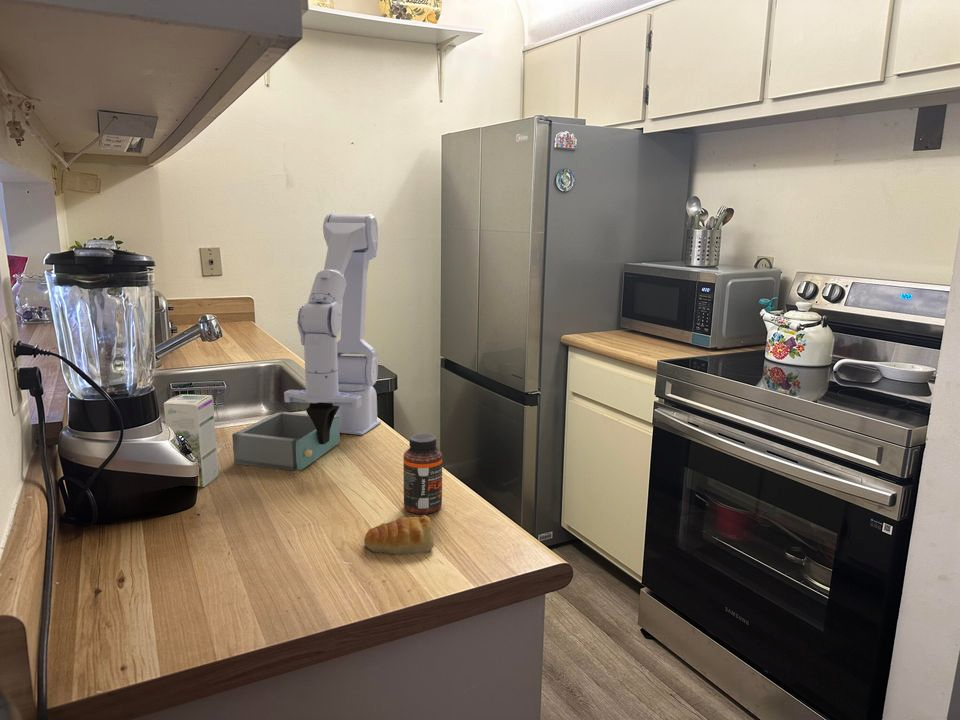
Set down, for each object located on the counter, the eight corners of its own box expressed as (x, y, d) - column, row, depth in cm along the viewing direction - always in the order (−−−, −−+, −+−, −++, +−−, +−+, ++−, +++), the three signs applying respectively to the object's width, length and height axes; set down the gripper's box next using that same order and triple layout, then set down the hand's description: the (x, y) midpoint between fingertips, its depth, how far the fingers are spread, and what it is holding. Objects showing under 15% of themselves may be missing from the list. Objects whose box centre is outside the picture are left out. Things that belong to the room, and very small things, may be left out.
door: (336, 441, 133) (336, 416, 132) (345, 442, 132) (344, 417, 131) (297, 469, 118) (296, 441, 117) (307, 470, 118) (305, 442, 117)
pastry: (366, 561, 89) (365, 534, 88) (362, 538, 95) (361, 512, 94) (436, 553, 91) (436, 527, 90) (428, 531, 97) (428, 506, 96)
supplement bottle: (433, 518, 101) (433, 446, 98) (397, 512, 103) (395, 441, 100) (448, 502, 106) (448, 433, 104) (413, 497, 108) (412, 429, 106)
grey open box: (280, 437, 136) (279, 411, 135) (334, 443, 133) (333, 416, 131) (234, 463, 122) (232, 434, 121) (293, 471, 119) (291, 441, 117)
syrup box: (220, 475, 116) (214, 393, 113) (203, 489, 111) (196, 403, 107) (188, 473, 117) (181, 392, 114) (169, 487, 111) (162, 402, 108)
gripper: (273, 371, 120) (277, 445, 122) (347, 377, 116) (350, 453, 118) (294, 364, 126) (298, 434, 129) (366, 369, 122) (367, 441, 125)
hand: (324, 442), depth 124 cm, fingers closed
